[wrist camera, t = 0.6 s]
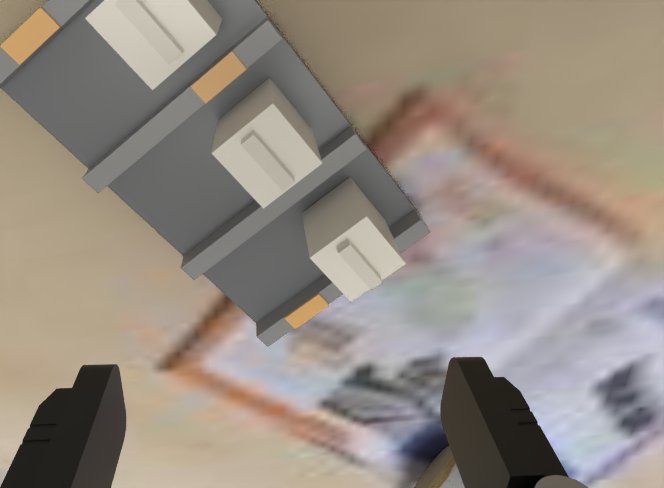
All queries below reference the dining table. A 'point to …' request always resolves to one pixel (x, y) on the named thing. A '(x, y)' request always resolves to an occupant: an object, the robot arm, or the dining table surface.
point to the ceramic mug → (441, 472)
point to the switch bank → (200, 150)
